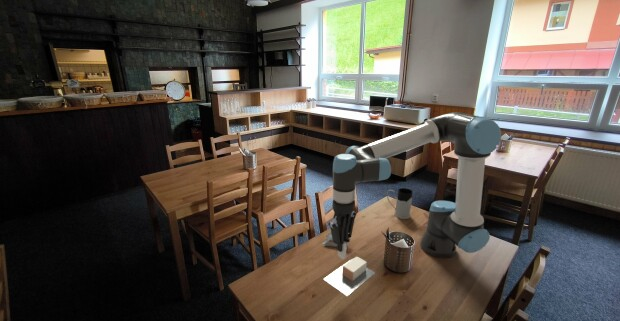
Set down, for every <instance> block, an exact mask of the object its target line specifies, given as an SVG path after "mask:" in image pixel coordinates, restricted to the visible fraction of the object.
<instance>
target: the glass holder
mask: <svg viewBox="0 0 620 321" xmlns="http://www.w3.org/2000/svg"><path fill="white" fill-rule="evenodd" d="M390 191H391V192H393V196H394V198H395V199H396V205H393V203H391V201H390V198H389V192H390ZM386 196H387V201H388V202H389V204H390V205H391V206H392V208H394V211H395V212H394V216H395V218H399V219H401V220H408V219H410V218H411V208H412V201H413V190H412V189H410V188H403V187H402V188H399V189H398V191H397V197H396V192H395V191H394V190H393V189H389V190H387V193H386Z"/></svg>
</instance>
